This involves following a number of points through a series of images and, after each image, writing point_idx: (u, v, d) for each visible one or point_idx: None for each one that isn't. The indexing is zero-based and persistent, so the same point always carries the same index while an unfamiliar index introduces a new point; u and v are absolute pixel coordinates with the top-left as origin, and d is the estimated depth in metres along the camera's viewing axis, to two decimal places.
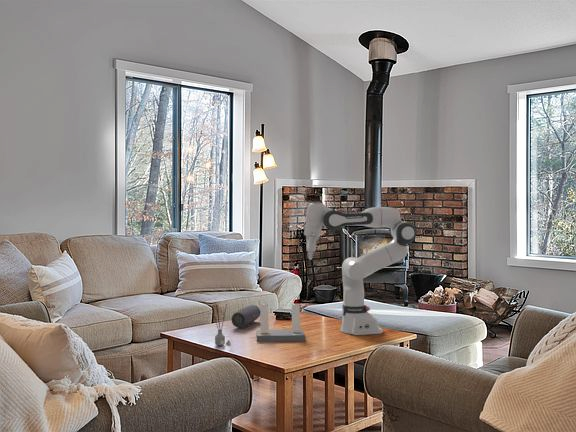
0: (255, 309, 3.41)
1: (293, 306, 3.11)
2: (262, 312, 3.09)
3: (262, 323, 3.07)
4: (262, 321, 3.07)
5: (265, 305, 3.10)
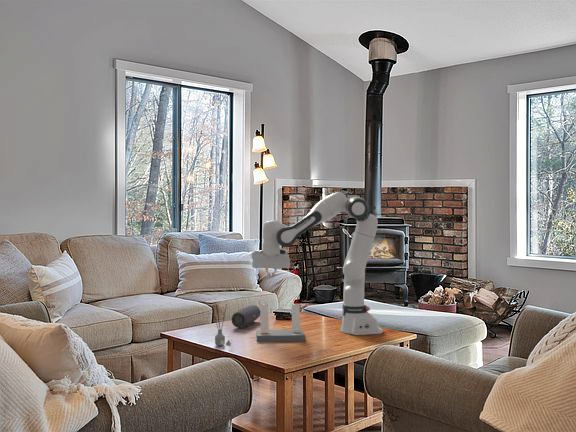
0: (255, 309, 3.41)
1: (293, 306, 3.11)
2: (262, 312, 3.09)
3: (262, 323, 3.07)
4: (262, 321, 3.07)
5: (265, 305, 3.10)
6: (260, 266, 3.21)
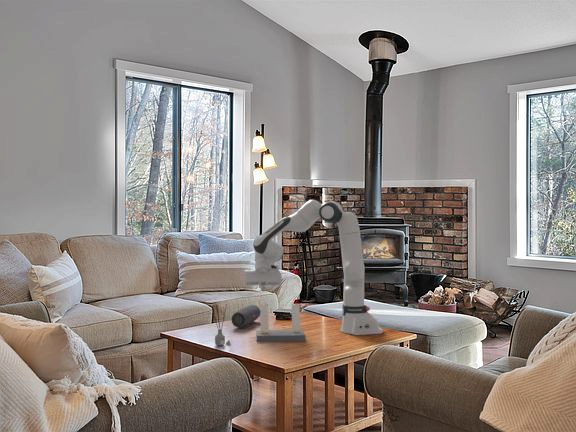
0: (255, 309, 3.41)
1: (293, 306, 3.11)
2: (262, 312, 3.09)
3: (262, 323, 3.07)
4: (262, 321, 3.07)
5: (265, 305, 3.10)
6: (252, 280, 3.26)
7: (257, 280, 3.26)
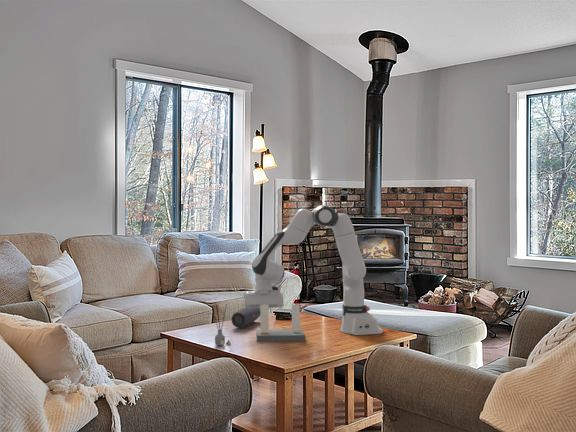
0: (255, 309, 3.41)
1: (293, 306, 3.11)
2: (262, 312, 3.09)
3: (262, 323, 3.07)
4: (262, 321, 3.07)
5: (265, 305, 3.10)
6: (253, 302, 3.13)
7: (258, 302, 3.13)
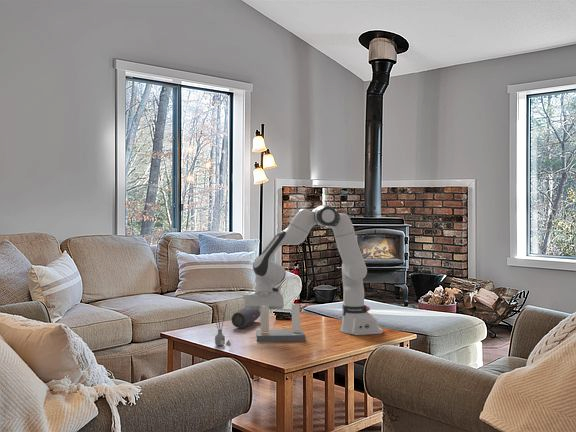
0: (255, 309, 3.41)
1: (293, 306, 3.11)
2: (262, 314, 3.03)
3: (262, 325, 3.05)
4: (262, 323, 3.04)
5: (265, 307, 3.03)
6: (252, 304, 3.08)
7: (257, 304, 3.08)
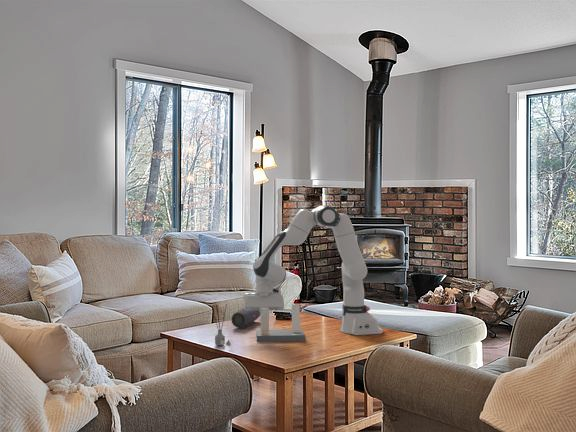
0: None
1: (293, 306, 3.11)
2: (262, 316, 3.02)
3: (262, 326, 3.04)
4: (262, 324, 3.03)
5: (265, 310, 3.01)
6: (253, 305, 3.06)
7: (258, 305, 3.06)
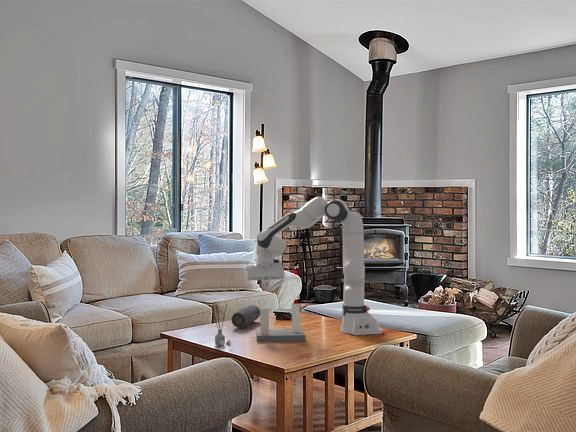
0: (255, 309, 3.41)
1: (293, 306, 3.11)
2: (262, 316, 3.02)
3: (262, 326, 3.04)
4: (262, 324, 3.03)
5: (265, 310, 3.01)
6: (255, 275, 3.26)
7: (260, 275, 3.26)
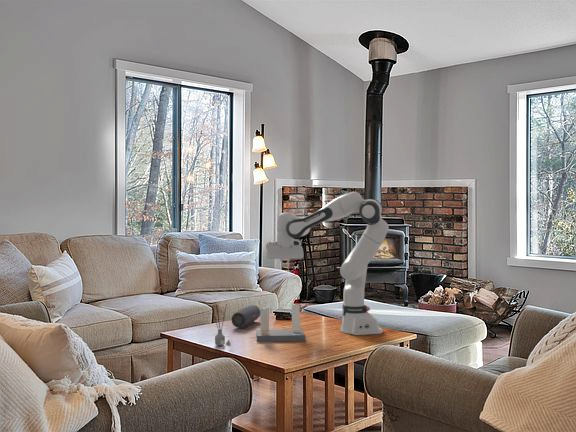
0: (255, 309, 3.41)
1: (293, 306, 3.11)
2: (262, 316, 3.02)
3: (262, 326, 3.04)
4: (262, 324, 3.03)
5: (265, 310, 3.01)
6: (274, 257, 3.30)
7: (279, 257, 3.30)
